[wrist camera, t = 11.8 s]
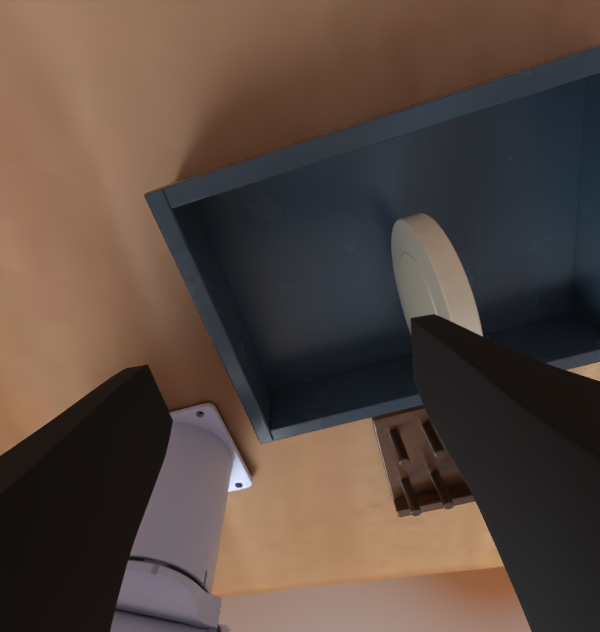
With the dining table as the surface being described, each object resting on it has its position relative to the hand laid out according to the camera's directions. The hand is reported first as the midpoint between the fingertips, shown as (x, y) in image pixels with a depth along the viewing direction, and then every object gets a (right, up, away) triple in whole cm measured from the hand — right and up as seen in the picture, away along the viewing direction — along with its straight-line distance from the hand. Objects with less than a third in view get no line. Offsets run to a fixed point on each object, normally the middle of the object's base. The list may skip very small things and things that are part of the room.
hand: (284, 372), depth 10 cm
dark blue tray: (+6, +5, +9) cm, 12 cm away
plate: (+6, +4, +9) cm, 11 cm away
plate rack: (+11, -7, +16) cm, 20 cm away
